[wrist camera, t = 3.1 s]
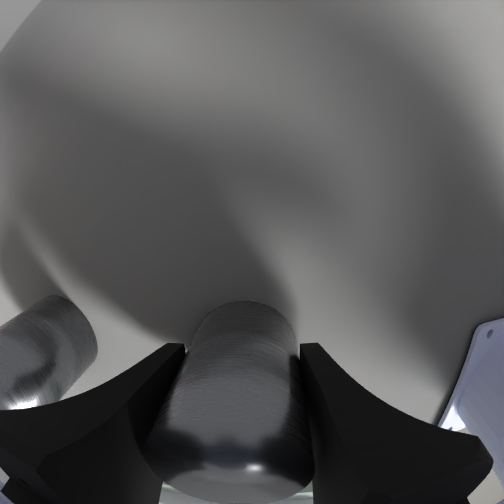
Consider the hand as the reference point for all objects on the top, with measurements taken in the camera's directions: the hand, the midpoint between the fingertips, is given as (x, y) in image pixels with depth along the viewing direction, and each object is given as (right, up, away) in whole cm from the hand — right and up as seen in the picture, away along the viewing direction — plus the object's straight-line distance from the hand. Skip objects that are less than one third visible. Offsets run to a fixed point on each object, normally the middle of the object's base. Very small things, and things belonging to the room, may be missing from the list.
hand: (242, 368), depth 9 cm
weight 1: (-9, 0, +2) cm, 9 cm away
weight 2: (0, 0, +1) cm, 1 cm away
